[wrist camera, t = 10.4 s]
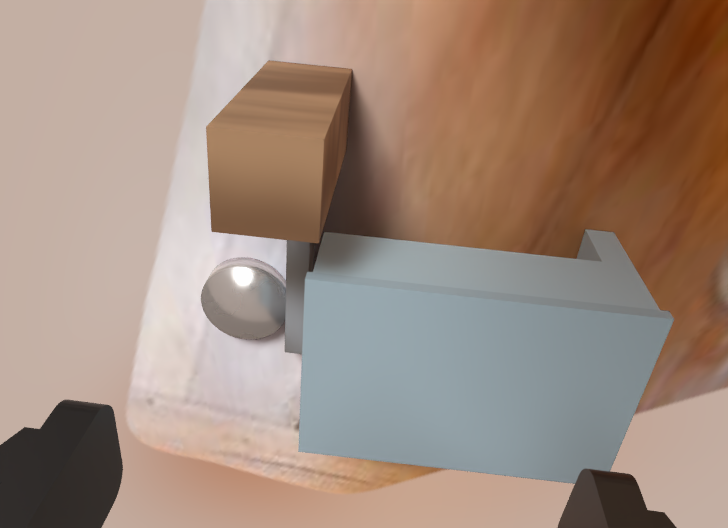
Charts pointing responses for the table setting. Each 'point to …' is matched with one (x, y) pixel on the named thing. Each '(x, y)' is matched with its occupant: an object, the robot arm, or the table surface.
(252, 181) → the wood grain block
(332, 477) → the table surface
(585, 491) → the robot arm
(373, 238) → the plinth shelf
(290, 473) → the table surface
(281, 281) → the silver metal disc
